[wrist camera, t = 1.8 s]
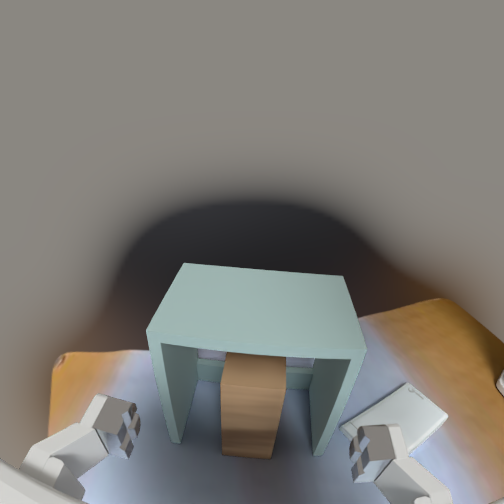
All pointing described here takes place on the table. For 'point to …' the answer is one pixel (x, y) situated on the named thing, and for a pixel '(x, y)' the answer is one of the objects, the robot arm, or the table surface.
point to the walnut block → (251, 403)
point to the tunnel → (257, 337)
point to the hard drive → (402, 416)
